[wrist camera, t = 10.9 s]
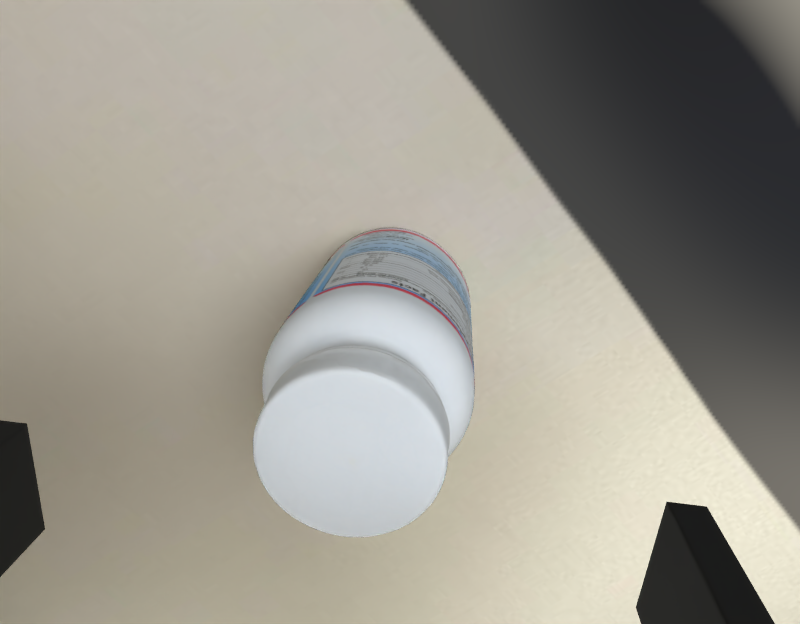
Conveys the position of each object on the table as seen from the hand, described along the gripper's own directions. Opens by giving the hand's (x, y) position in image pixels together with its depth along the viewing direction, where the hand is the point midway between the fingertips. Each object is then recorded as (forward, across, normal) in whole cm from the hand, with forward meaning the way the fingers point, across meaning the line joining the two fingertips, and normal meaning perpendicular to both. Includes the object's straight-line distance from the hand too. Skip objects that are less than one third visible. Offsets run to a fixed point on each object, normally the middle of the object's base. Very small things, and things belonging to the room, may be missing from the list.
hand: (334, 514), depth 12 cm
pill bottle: (+13, 0, 0) cm, 13 cm away
